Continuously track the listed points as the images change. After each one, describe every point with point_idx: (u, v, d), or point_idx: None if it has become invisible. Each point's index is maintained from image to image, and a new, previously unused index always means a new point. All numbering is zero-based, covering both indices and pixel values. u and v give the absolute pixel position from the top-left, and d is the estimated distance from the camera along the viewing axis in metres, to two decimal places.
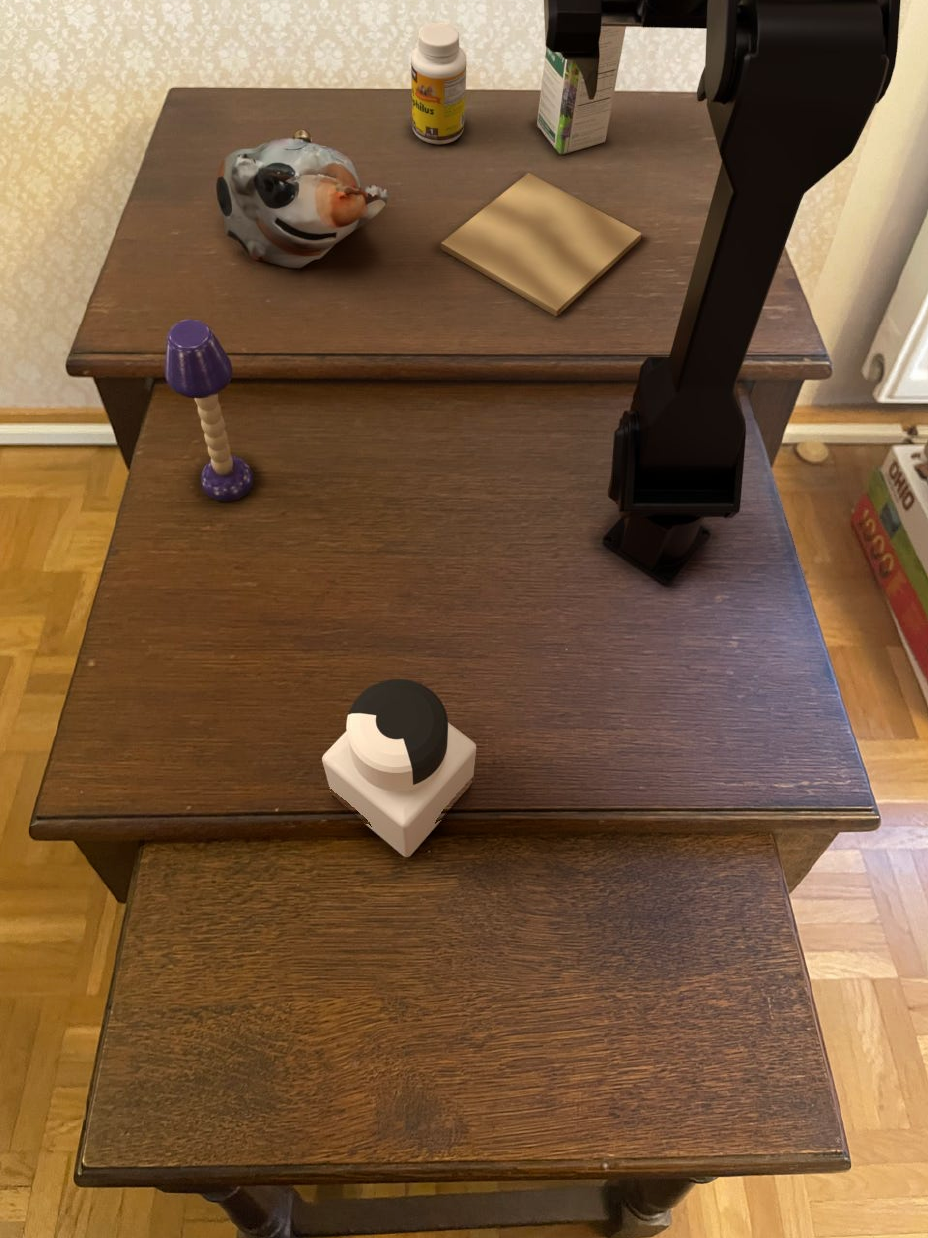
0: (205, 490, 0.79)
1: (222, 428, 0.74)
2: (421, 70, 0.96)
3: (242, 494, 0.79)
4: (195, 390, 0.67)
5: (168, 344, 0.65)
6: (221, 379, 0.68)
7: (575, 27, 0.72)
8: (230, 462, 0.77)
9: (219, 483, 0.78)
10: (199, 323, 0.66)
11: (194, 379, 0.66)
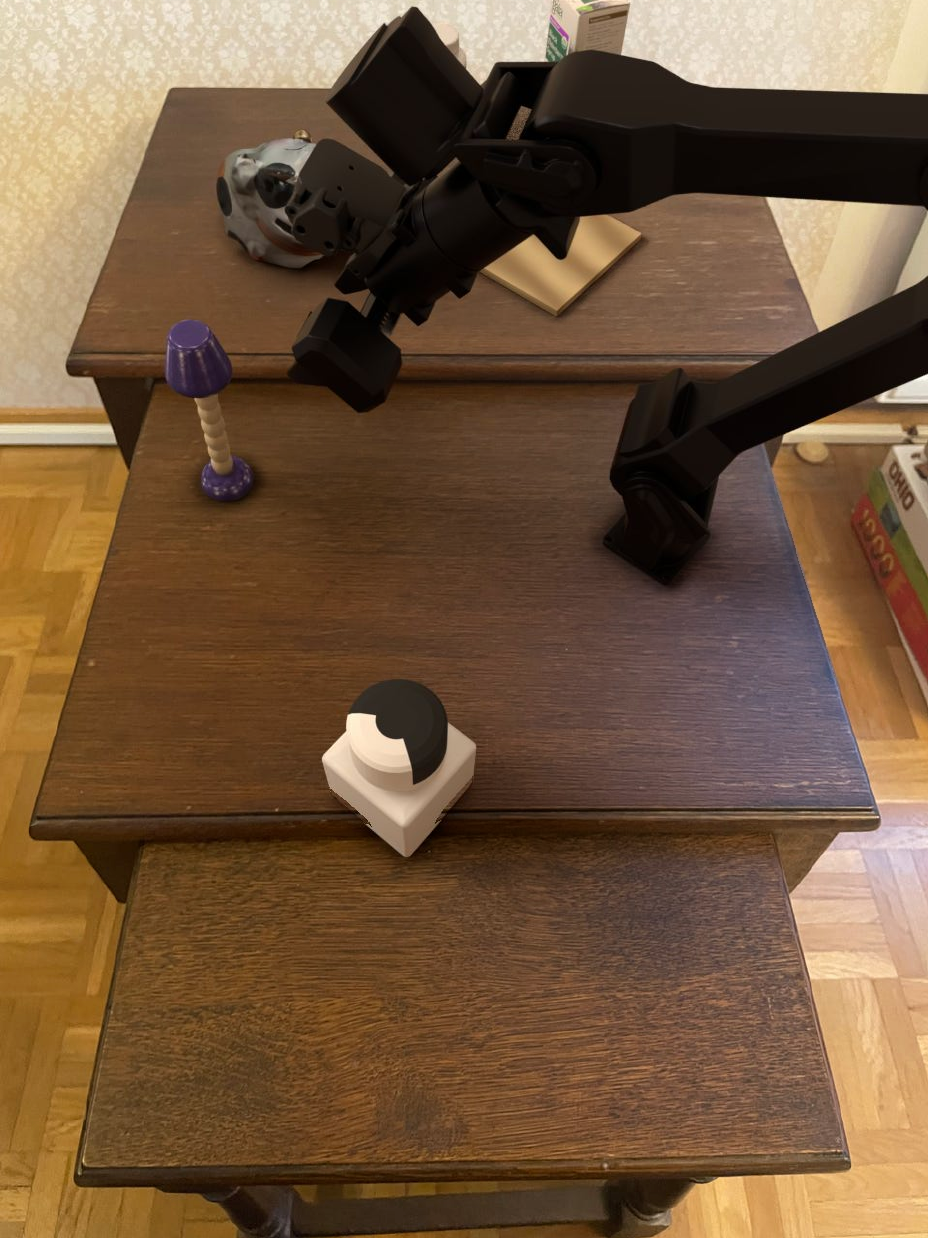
0: (205, 490, 0.79)
1: (222, 428, 0.74)
2: None
3: (242, 494, 0.79)
4: (195, 390, 0.67)
5: (168, 344, 0.65)
6: (221, 379, 0.68)
7: (391, 381, 0.61)
8: (230, 462, 0.77)
9: (219, 483, 0.78)
10: (199, 323, 0.66)
11: (194, 379, 0.66)
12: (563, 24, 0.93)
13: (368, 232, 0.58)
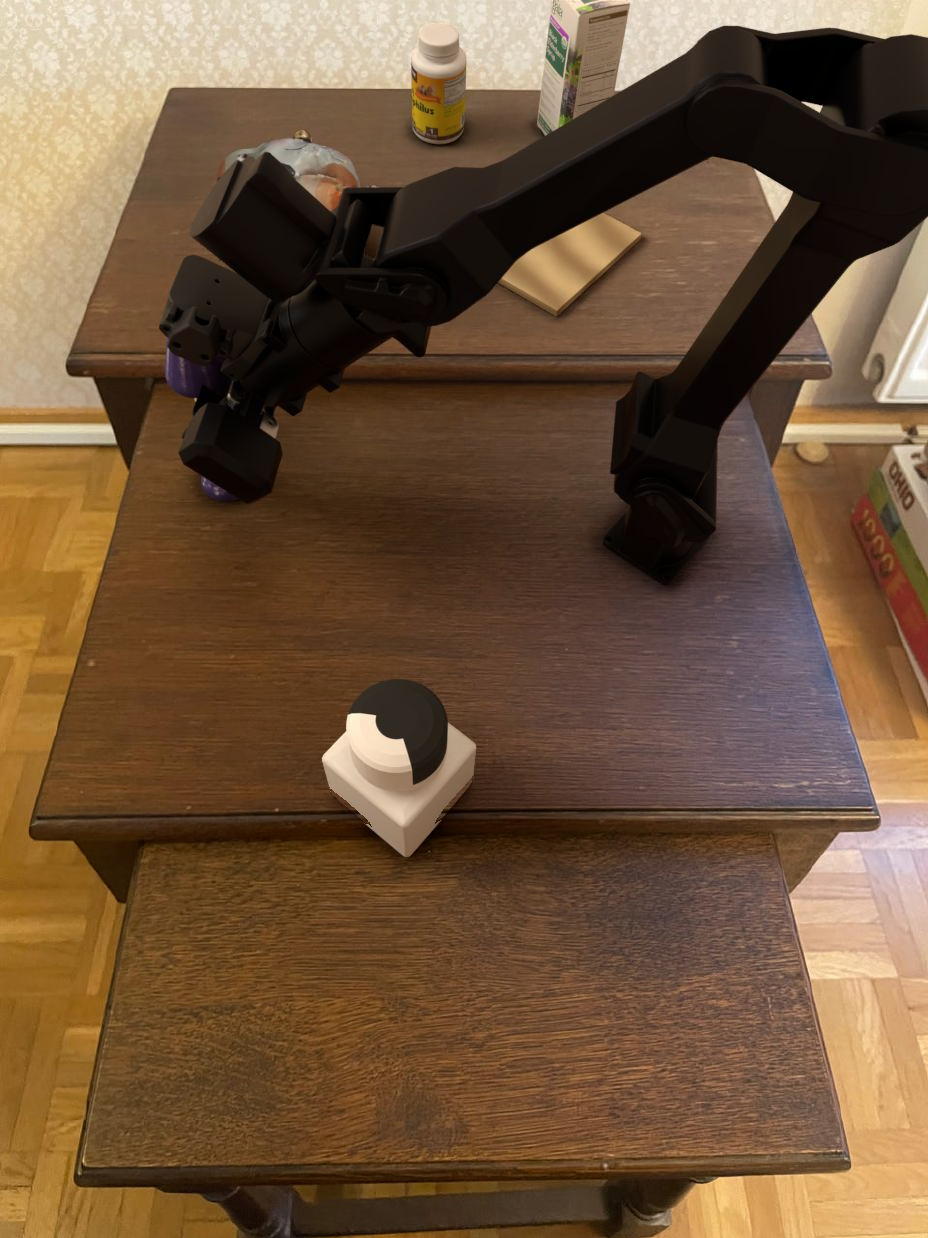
0: (205, 490, 0.79)
1: None
2: (421, 70, 0.96)
3: None
4: (195, 391, 0.67)
5: None
6: (221, 379, 0.68)
7: (275, 473, 0.65)
8: None
9: None
10: None
11: (194, 379, 0.66)
12: (563, 24, 0.93)
13: (240, 341, 0.62)
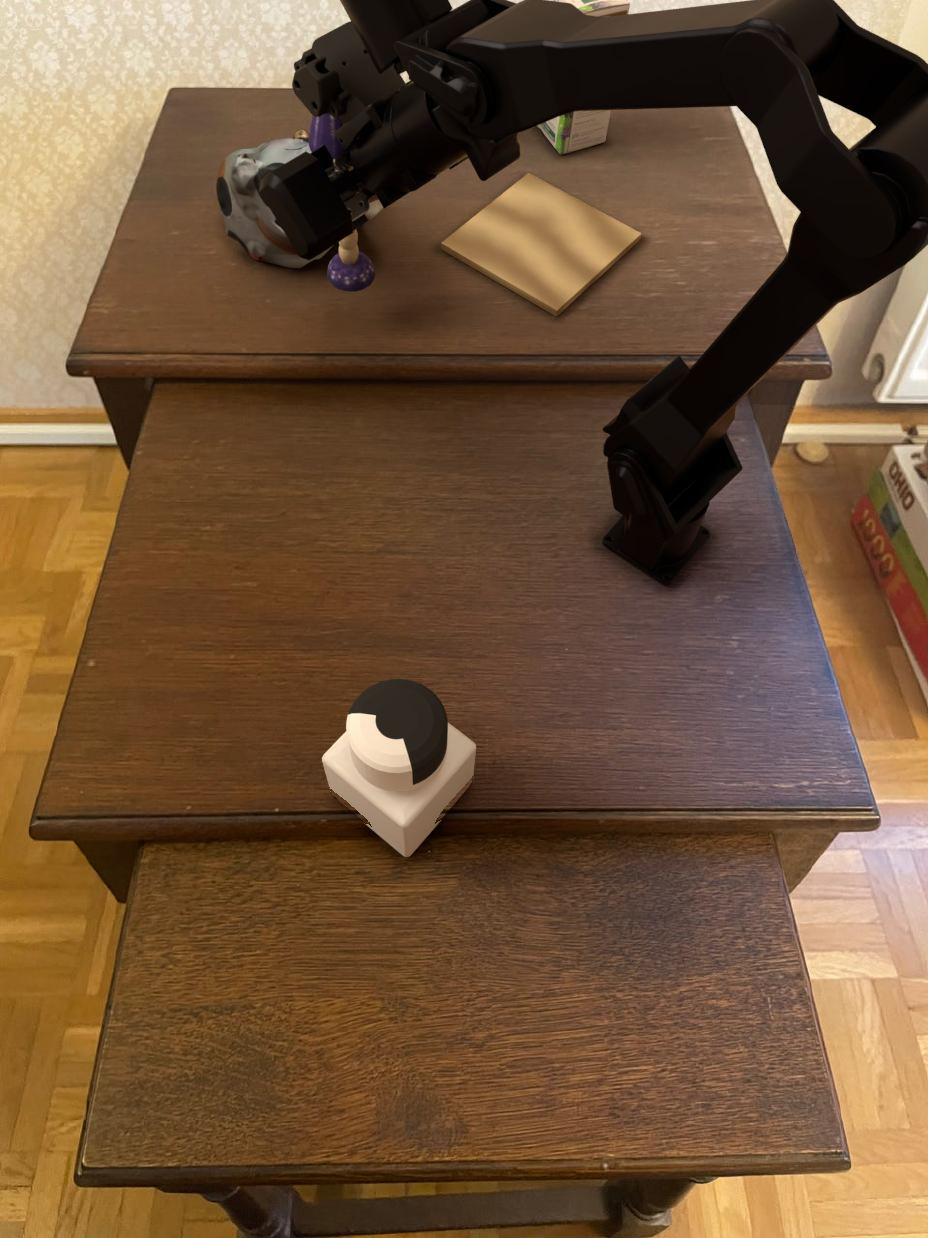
0: (327, 271, 0.85)
1: None
2: None
3: (352, 289, 0.84)
4: None
5: None
6: None
7: (333, 241, 0.70)
8: (353, 253, 0.83)
9: (337, 268, 0.84)
10: None
11: (322, 140, 0.72)
12: None
13: (353, 107, 0.67)
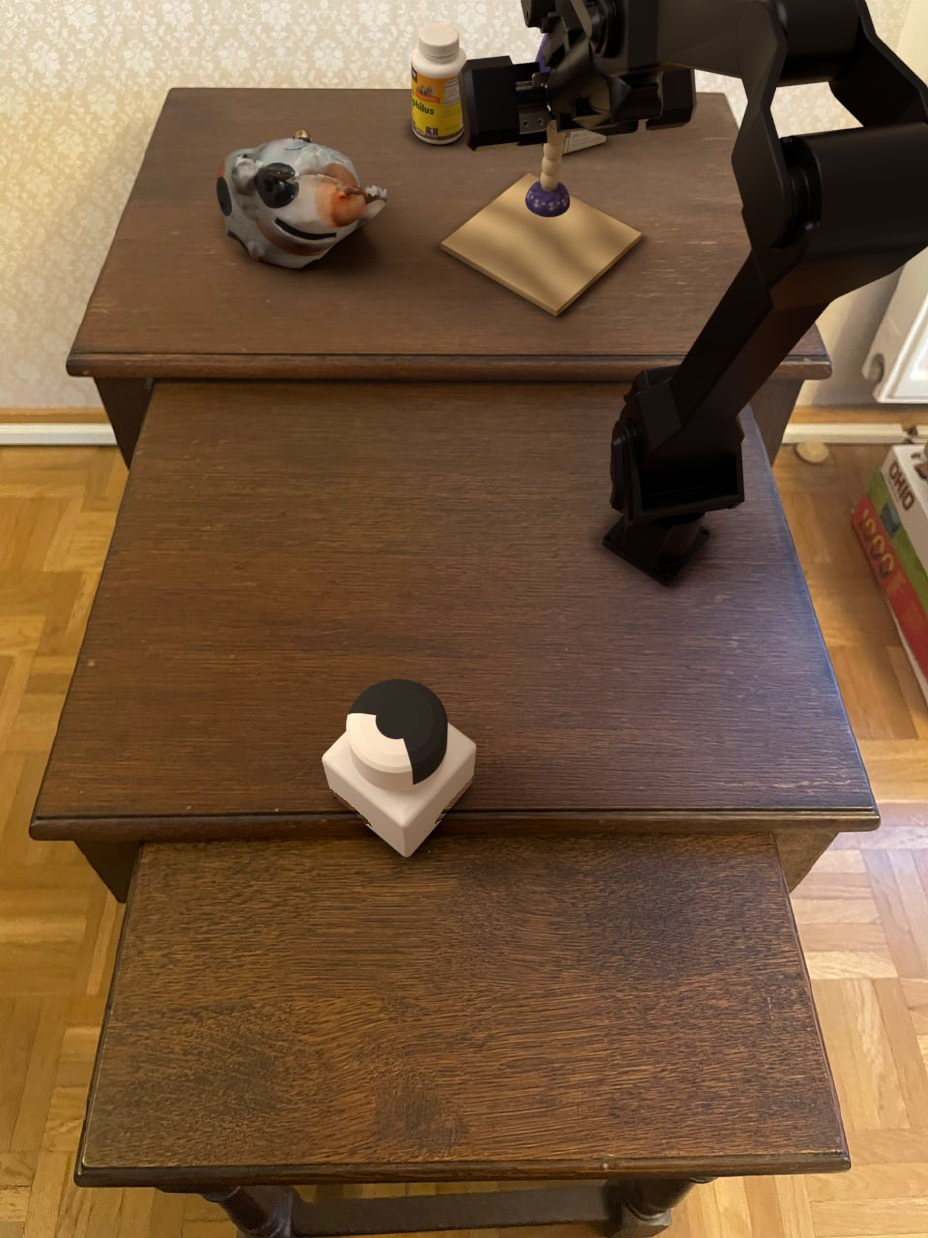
0: None
1: (554, 138, 0.84)
2: (421, 70, 0.96)
3: (538, 213, 0.90)
4: None
5: None
6: None
7: (495, 140, 0.76)
8: (550, 180, 0.88)
9: (534, 190, 0.90)
10: None
11: (542, 57, 0.78)
12: None
13: (558, 29, 0.72)
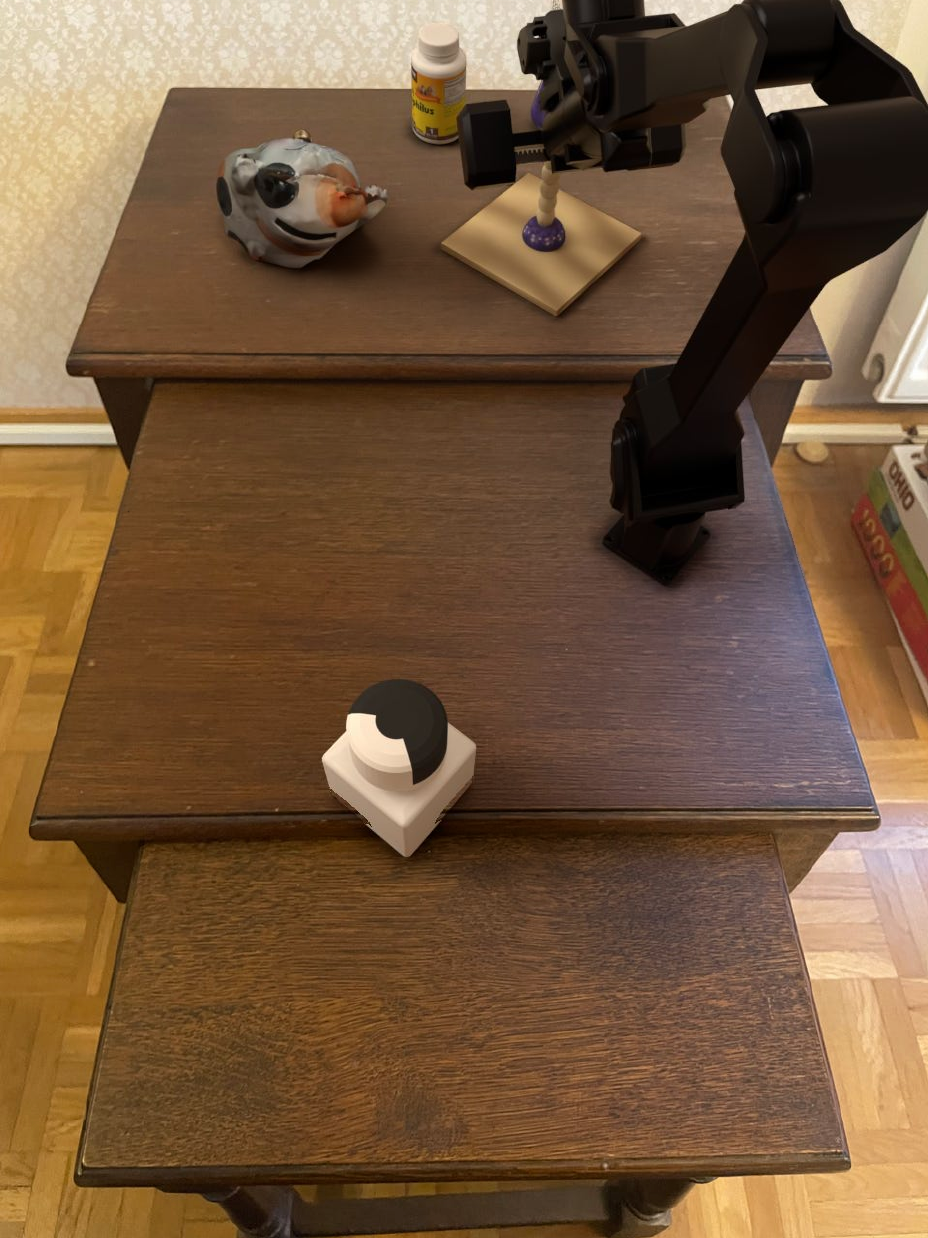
0: None
1: (550, 178, 0.88)
2: (421, 70, 0.96)
3: (535, 247, 0.93)
4: (534, 115, 0.82)
5: None
6: None
7: (493, 181, 0.79)
8: (546, 217, 0.92)
9: (530, 225, 0.93)
10: None
11: (538, 105, 0.81)
12: None
13: (553, 76, 0.75)
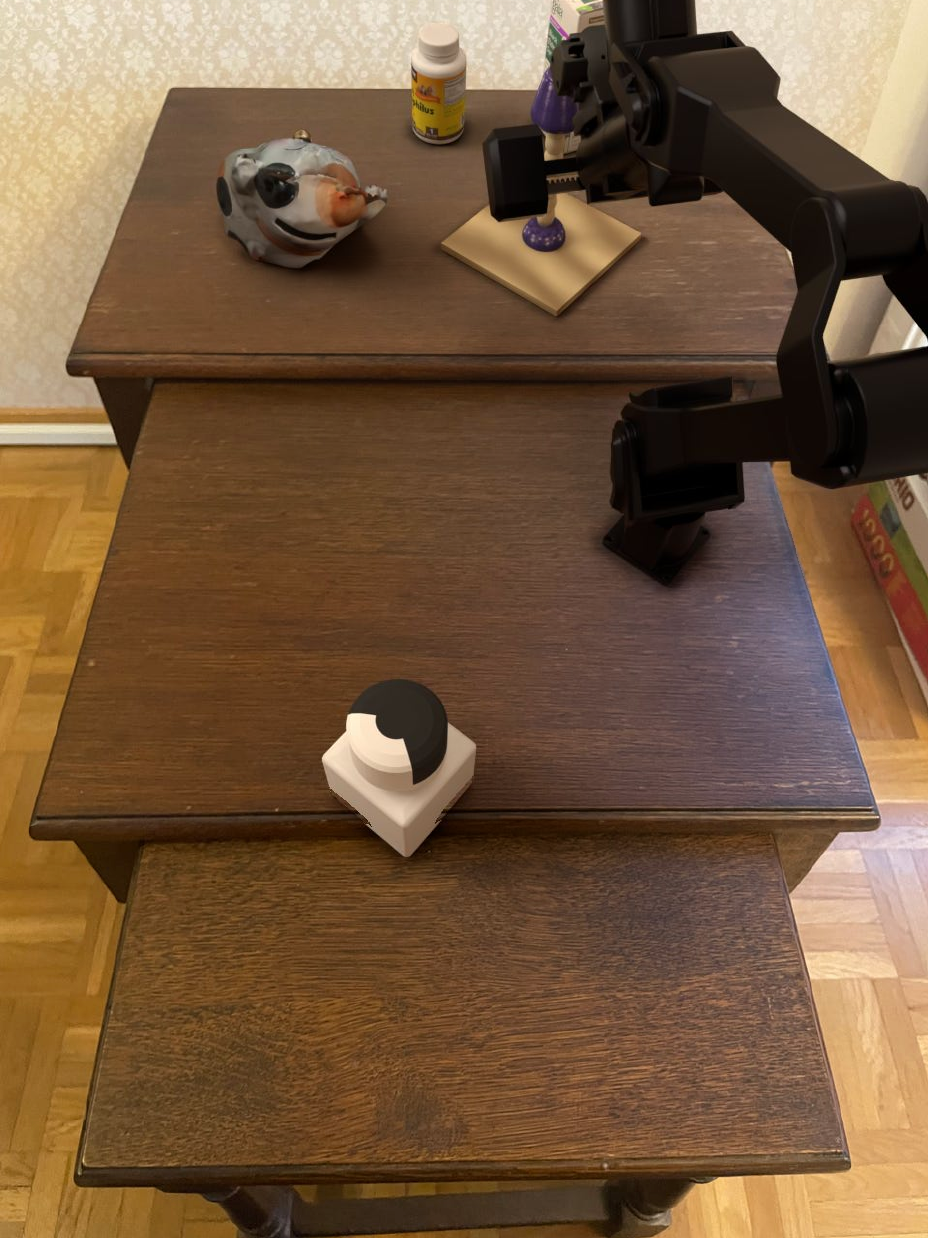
0: None
1: (550, 178, 0.88)
2: (421, 70, 0.96)
3: (535, 247, 0.93)
4: (534, 115, 0.82)
5: None
6: (553, 123, 0.82)
7: (522, 212, 0.72)
8: (546, 217, 0.92)
9: (530, 225, 0.93)
10: None
11: (538, 105, 0.81)
12: (563, 24, 0.93)
13: (590, 99, 0.68)
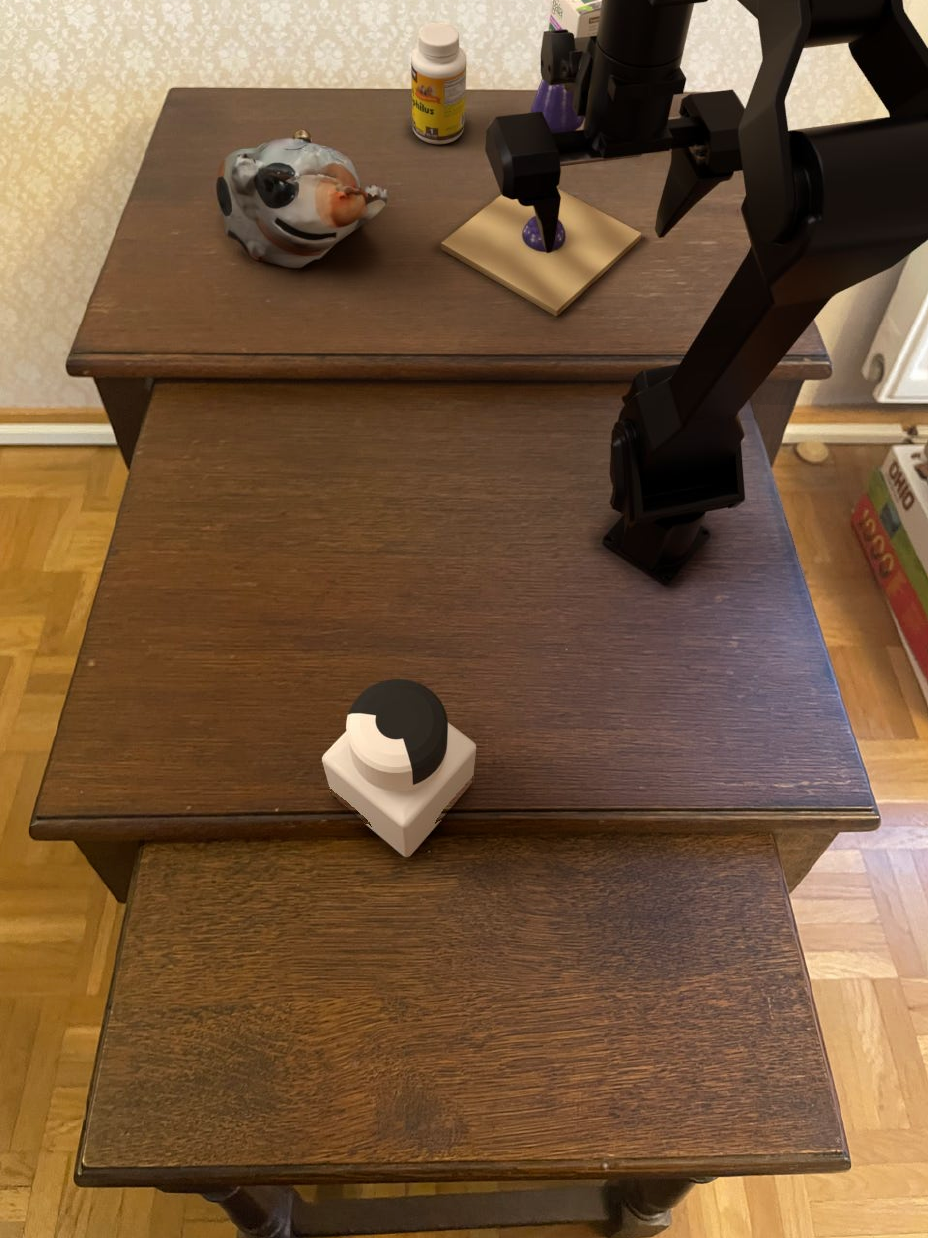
0: None
1: None
2: (421, 70, 0.96)
3: (535, 247, 0.93)
4: None
5: None
6: (553, 123, 0.82)
7: (533, 169, 0.66)
8: None
9: (530, 225, 0.93)
10: None
11: (538, 105, 0.81)
12: (563, 24, 0.93)
13: None
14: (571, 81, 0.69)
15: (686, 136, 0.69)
